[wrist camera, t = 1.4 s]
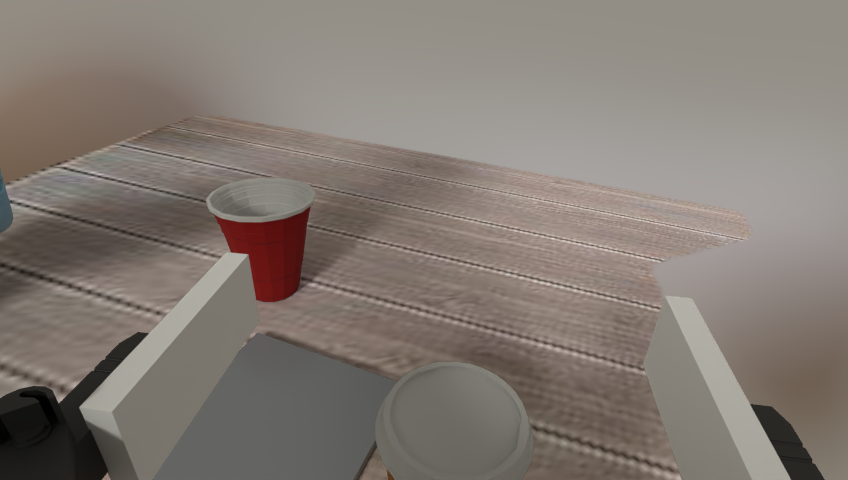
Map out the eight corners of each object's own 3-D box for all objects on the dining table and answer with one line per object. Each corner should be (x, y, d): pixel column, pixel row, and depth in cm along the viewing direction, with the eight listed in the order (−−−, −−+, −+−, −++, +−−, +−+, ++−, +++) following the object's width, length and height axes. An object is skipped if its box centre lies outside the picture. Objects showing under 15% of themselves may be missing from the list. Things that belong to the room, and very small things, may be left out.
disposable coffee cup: (441, 637, 30) (461, 531, 24) (346, 519, 36) (342, 408, 30) (533, 529, 36) (569, 420, 30) (439, 442, 42) (452, 335, 35)
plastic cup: (316, 254, 64) (311, 167, 57) (326, 309, 55) (320, 213, 49) (225, 263, 61) (209, 173, 55) (220, 322, 52) (199, 223, 46)
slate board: (125, 476, 38) (121, 468, 37) (258, 339, 50) (257, 332, 50) (310, 566, 33) (309, 558, 33) (405, 392, 46) (405, 384, 46)
